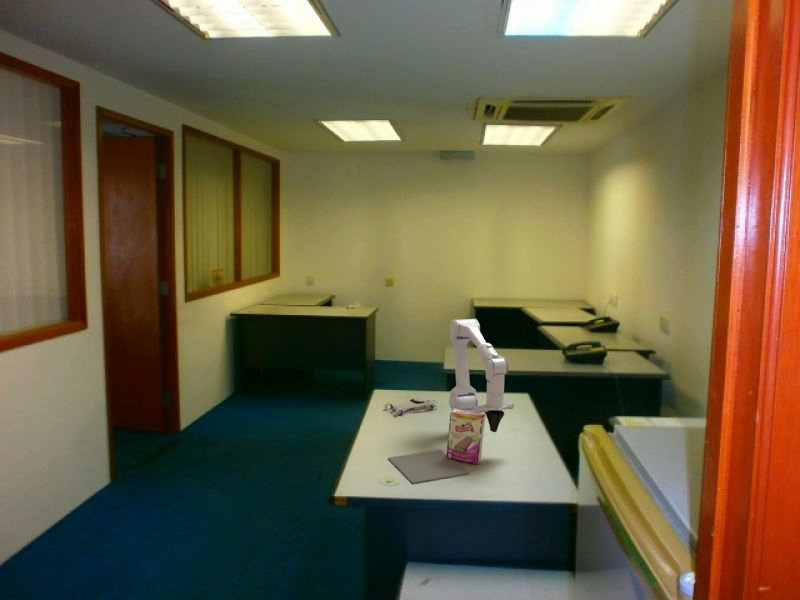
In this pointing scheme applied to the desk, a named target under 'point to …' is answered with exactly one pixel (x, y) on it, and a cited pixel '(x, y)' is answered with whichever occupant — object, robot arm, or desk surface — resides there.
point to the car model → (412, 406)
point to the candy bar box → (465, 436)
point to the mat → (427, 466)
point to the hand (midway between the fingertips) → (493, 431)
